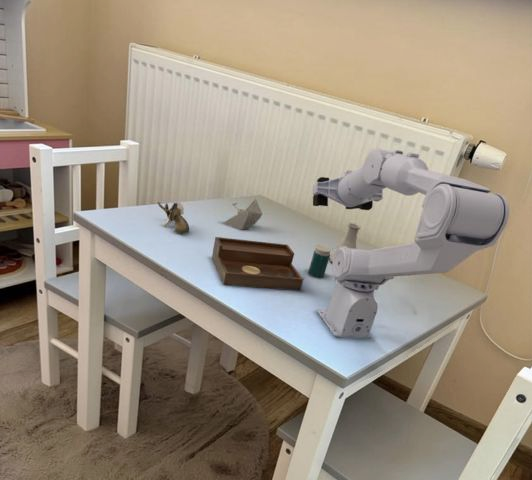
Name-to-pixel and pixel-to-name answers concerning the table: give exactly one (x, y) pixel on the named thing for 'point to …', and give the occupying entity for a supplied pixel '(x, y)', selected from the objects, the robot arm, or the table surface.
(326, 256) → the cylinder
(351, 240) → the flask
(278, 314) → the table surface
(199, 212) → the table surface
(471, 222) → the robot arm
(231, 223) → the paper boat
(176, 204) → the eagle figurine
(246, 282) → the spice shelf
